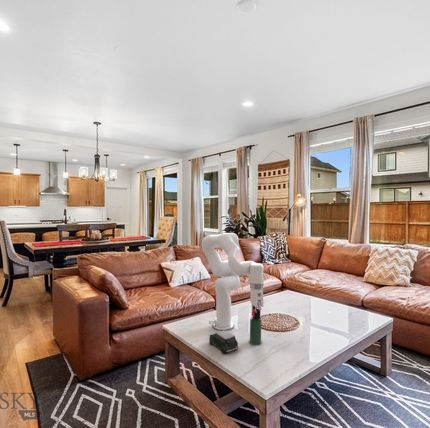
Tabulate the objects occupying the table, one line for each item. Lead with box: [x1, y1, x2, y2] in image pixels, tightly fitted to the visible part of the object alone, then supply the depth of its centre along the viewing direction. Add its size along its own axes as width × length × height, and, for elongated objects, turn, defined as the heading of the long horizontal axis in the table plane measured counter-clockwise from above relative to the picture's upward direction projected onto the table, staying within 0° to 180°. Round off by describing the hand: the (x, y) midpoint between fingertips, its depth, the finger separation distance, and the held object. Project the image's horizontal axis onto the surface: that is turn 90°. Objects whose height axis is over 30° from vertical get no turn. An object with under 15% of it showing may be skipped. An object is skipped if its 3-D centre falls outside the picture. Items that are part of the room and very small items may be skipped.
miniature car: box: [208, 330, 240, 354], centre depth 163 cm, size 9×18×8 cm, turn 39°
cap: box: [251, 308, 255, 317], centre depth 168 cm, size 4×4×4 cm
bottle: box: [249, 316, 262, 346], centre depth 168 cm, size 6×6×18 cm
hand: (256, 317), depth 168 cm, fingers closed on cap, 4 cm apart
